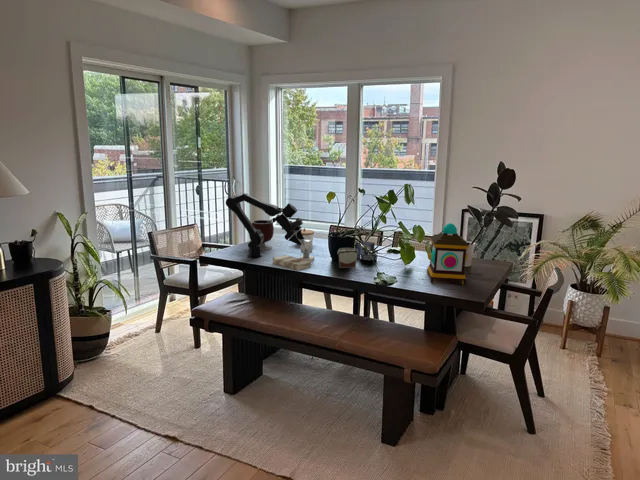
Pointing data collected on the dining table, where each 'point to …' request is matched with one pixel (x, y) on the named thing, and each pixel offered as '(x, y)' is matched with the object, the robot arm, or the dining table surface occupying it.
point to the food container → (347, 257)
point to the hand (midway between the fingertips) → (303, 243)
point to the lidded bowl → (307, 234)
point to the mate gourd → (264, 231)
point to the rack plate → (291, 262)
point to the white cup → (306, 247)
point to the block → (311, 258)
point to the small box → (358, 246)
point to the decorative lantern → (447, 255)
